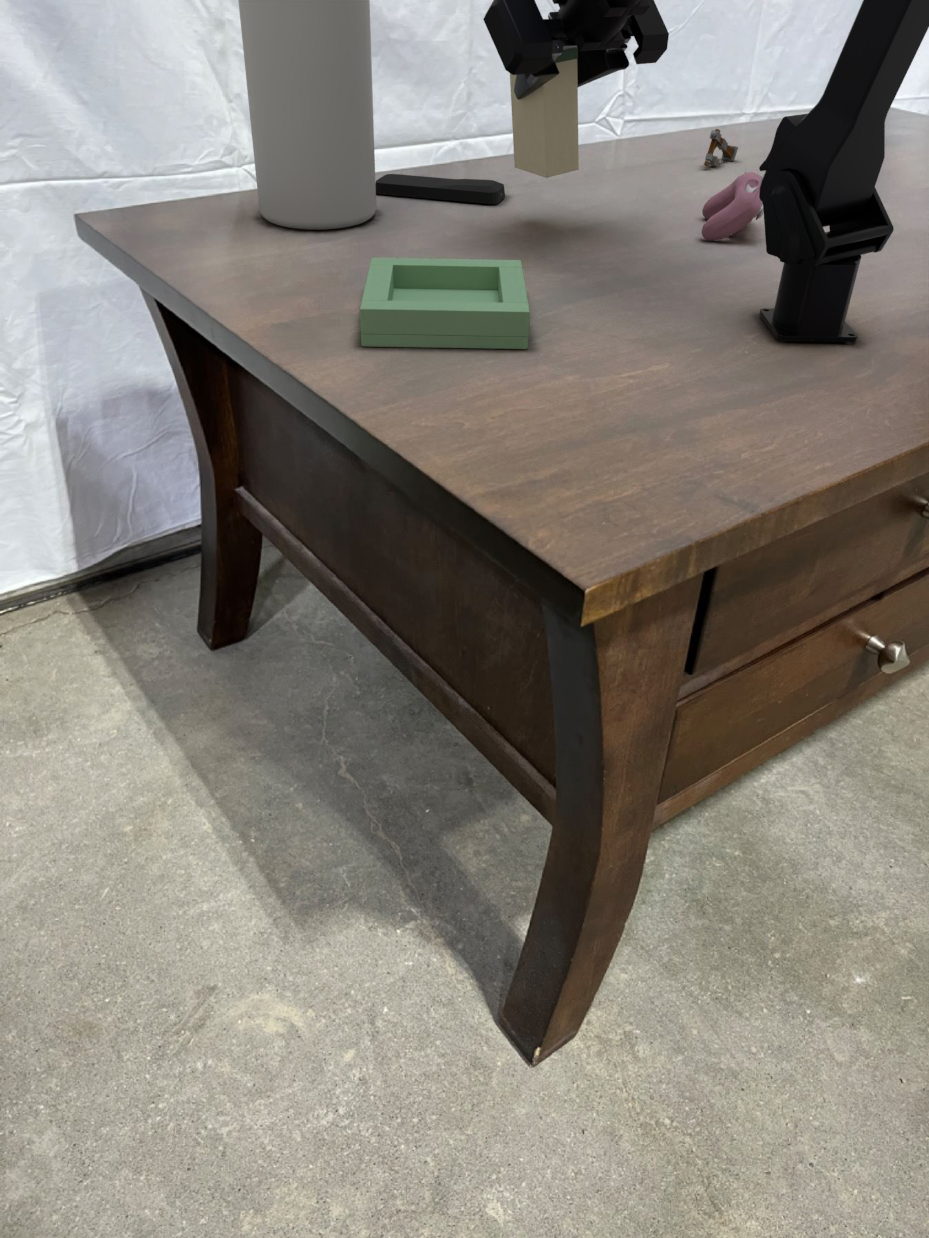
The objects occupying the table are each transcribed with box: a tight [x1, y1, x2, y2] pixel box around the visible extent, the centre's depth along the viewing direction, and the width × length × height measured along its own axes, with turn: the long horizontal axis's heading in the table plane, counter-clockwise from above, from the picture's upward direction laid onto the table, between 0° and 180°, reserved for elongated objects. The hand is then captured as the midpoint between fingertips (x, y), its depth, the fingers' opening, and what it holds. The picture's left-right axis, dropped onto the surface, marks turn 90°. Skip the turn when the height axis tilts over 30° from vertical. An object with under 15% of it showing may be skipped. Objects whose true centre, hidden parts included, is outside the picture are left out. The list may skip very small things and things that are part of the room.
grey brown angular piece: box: [703, 128, 739, 168], centre depth 130 cm, size 2×8×4 cm, turn 145°
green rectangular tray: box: [359, 256, 531, 350], centre depth 81 cm, size 13×13×3 cm
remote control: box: [375, 173, 506, 205], centre depth 115 cm, size 5×2×15 cm
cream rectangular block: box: [509, 48, 580, 179], centre depth 98 cm, size 6×4×13 cm
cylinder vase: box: [238, 0, 377, 231], centre depth 99 cm, size 12×12×25 cm
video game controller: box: [701, 170, 764, 242], centre depth 104 cm, size 10×5×7 cm, turn 169°
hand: (536, 93), depth 99 cm, fingers closed on cream rectangular block, 5 cm apart
